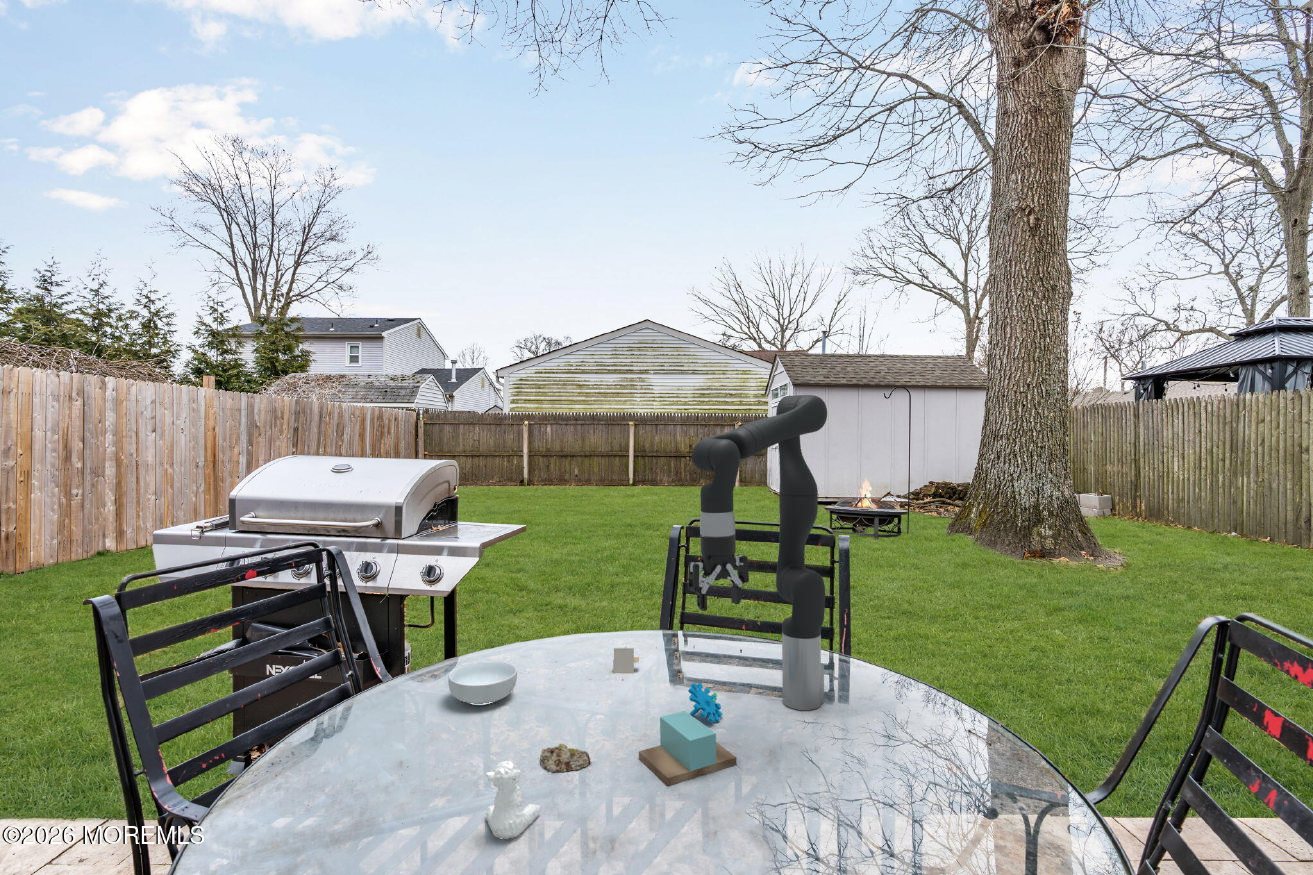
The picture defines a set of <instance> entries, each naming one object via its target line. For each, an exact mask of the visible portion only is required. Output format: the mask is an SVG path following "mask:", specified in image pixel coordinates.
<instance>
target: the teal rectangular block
mask: <svg viewBox="0 0 1313 875" xmlns="http://www.w3.org/2000/svg"><path fill="white" fill-rule="evenodd" d="M659 736H660V737H659V738H660V739H659V740H660V741H659V742H660V743H659V745H661V746H662V747H663V748H664V749H665V750H666V751H668V752H669V753H670V754H671V755H672V756H673V757H674V758H676V759H677V760H678V761H679V762H680V763H681V764H683V765H684V766H685V767H686V768H687V769H688V770H689V771H693V770H696V769H700V768H703V767H706V766H709V765H713V764H716V742H717V733H716V731H713V730H712V729H711V728H709V727H708V726H706V725H705V724H704V723H702V722H701V721H700V720H698V719H697V718H695V717H694V716H691V715H690V713H688V712H687V711H686V710H682V711H678V712H674V713H671V714H667V715H666V714H665V715H663V716H659Z"/></svg>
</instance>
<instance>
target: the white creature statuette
mask: <svg viewBox="0 0 1313 875" xmlns="http://www.w3.org/2000/svg"><path fill="white" fill-rule="evenodd" d="M520 775H521V770H520V769H519V767H518V766H517V765H516V764H514V763H513V761H509V760H503V761H500V762H498V764H496V766H495V767H494V769H493V770H492V771H488V772H486V777H487V781H489V782H490V783H491V782H492V785H493V786H494V787H496V788H497V791H496V794H495V796H494V802H493V803H494V804H492V805H488V807H487V808H486V811H485V817H486V822H487V821H488V822H487V823H488V826H489V828H490V830H492V831H491V832H492V834H493V836H495V838H497V837H498V838H497V839H499V838H502V839H501V840H510V839H509V838H513V839H514V837H515V838H518V837H519V836H520V835H522V832H524V831H525V830H526V829H527V828H528V826H530V825H531V824H532V823H533V821H535V820H536V819H537V817H538V816H539V815H540V813H541V810H542V808H541V806H540V805H539V804H535V803H533V804H532V803H528V805H527V806H525V807H524V808H523V807H522V806H523V803H524V800H523V792H522V790H521V787H519V786H518V783H519V780H520Z"/></svg>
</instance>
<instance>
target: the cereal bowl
mask: <svg viewBox="0 0 1313 875" xmlns="http://www.w3.org/2000/svg"><path fill="white" fill-rule="evenodd" d="M517 678H518V670H517V667H516V666H515V665H514V664H512V663H509V662H506V661H498V660H484V661H483V660H482V661H474V662H470V663H465V664H462V665H460V666H458V667H455V668H454V669H452V670H451V671H450V672H449V674H448V688H449V691H450V693H451V695H452V696H453V697H454V698H455V699H457V700H459V701H460V702H462V701H463V703H465V702H467V704H468V703H474V704H483V703H489V702H494V701H496V702H498V701H499V700H501V699H502V700H503V699H504V698H506V697H507V696H508V695H510V694H511V692H512V691H514V689H515V688H516V683H517ZM497 700H498V701H497Z"/></svg>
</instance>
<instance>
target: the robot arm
mask: <svg viewBox="0 0 1313 875" xmlns="http://www.w3.org/2000/svg"><path fill="white" fill-rule="evenodd" d="M775 414H776V415H772V416H767V417H764V418H760V419H755V420H753V421H750V422H747V423H745V424H743V425H741V426H739V427H736V428H734V429H732V430H730V431H727V432H722V433H721V432H720V433H718V434H715V435H711V436H708V437H705V438H702V439H700V441H698V442H697V443H696V444H695V446H693V449H692V450H691V451H692V452H691V461H692V463H693V465H694V467H696V468H697V469H698V470H700V471H703V472H709V473H710V472H712V473H714V474H713V478H712V481H711V482H708V483H705V484H703V485H701V489H700V493H699V494H700V495H699V496H700V518H699V531H700V532H699V539H700V541H699V542H700V553H701V560H700V561H699V562H695V561H694V562H693V561H689V562H688V571H687V573H688V575H687V589H688V590H689V591H691V592H694V593H696V606H697V608H698V609H699V610H700V611H702V612H706V611H708V594H707V591H708V589H709V587H710V586H712V584H713V583H714V581H720V580H726V579H728V580H729V582H730V584H732V585H730V591H731V592H730V593H731V594H730V595H731V596H730V597H731V603H732V604H734V605H740V603H741V601H742V587H743V585H744V584H747V583H749V581H750V576H749V574H750V573H749V562H748V556H747V555H744V554H737V555H736V556H735V554H736V552H737V548H736V547H737V546H736V544H737V543H736V519H735V511H734V490H735V486H736V482H737V477H738V473H739V468H740V463H741V460H745V459H748V458H750V457H753V456H754V455H756V454H758V453H761V452H763V451H765V450H766V449H769V448H770V447H773V446H774V445H778V446H777V447H778V455H779V458H778V459H779V462H778V463H779V464H778V465H779V490H778V491H779V498H778V499H779V500H778V501H779V502H778V503H779V506H778V508H779V509H778V510H779V511H778V512H779V533H778V534H779V535H778V536H779V537H778V538H779V539H778V541H779V543H778V556H777V564H776V573H775V587H776V591H777V593H778V595H779V597H780V598H781V599H783V600H784V601H786V602H787V603H790V604H792V609H791V616H790V617H786V618H785V619H784V620H782V625H781V630H782V631H781V637H782V638H781V641H782V643H781V646H782V648H781V652H782V653H781V654H782V657H781V659H782V664H781V666H782V674H781V675H782V676H781V677H782V678H781V679H782V680H781V681H782V683H781V684H782V687H781V688H782V689H781V690H782V691H781V692H782V703H783V705H785V706H786V707H788V708H789V709H793V710H798V711H811V710H812V711H813V710H815V709H818V708H820V707H821V705H822V704H824V703H825V666H824V663H821V662H822V655H821V654H822V650H821V648H822V643H821V642H822V641H821V640H822V639H821V638H822V635H821V632H822V627H823V624H824V621H825V612H826V611H825V607H826V584H825V581H824V579H823V576H822V575H821V574H820V573H818V572H817V571H815V570H812V569H809V568H807V567H806V564H805V562H806V561H805V559H806V558H805V556H806V555H805V554H806V553H805V550H806V544H807V539H808V538H809V535H810V533H811V531H812V529H813V528H814V525H815V522H816V519H817V516H818V509H819V508H818V507H819V505H818V504H819V502H818V501H819V494H818V493H819V492H818V490H819V488H818V484H817V482H816V479H815V476H814V475H813V474H812V471H811V470H810V467H809V466H808V464H807V462H806V460H805V458H804V456H803V453H802V448H801V447H802V445H801V436H802V435H808V434H812V433H817V432H819V431H820V430H822V428H823V427H824V426H825V424H826V422H827V420H828V409H827V405H826V402H825V400H823V399H822V397H820V396H817V395H813V394H801V395H800V394H799V395H798V394H796V395H795V394H794V395H786V396H783V397H782V398H780V400H779V401H778V402H777V406H776V412H775ZM735 566H736V568H737V570H734V568H735ZM736 571H737V572H736ZM700 573H701V574H700Z"/></svg>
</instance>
